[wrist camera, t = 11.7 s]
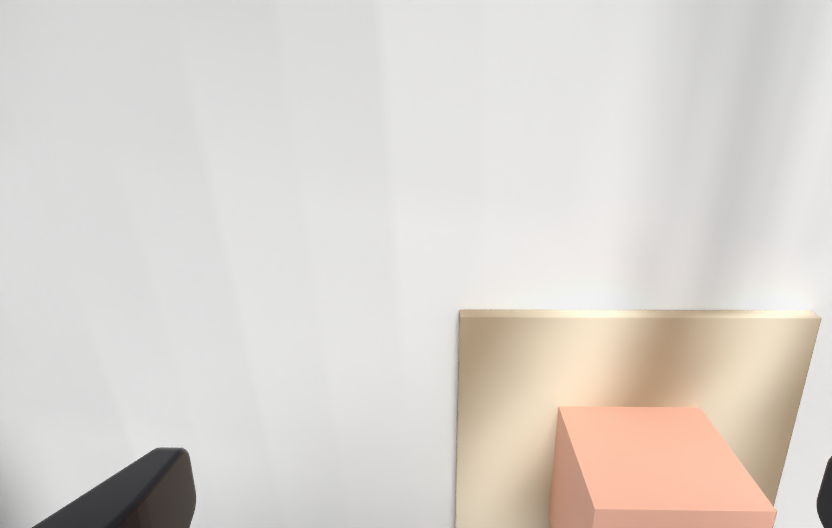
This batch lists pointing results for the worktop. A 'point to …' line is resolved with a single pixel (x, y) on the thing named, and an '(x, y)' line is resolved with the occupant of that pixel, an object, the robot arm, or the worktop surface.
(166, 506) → the robot arm
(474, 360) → the birch board
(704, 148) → the worktop surface
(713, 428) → the coral cube
